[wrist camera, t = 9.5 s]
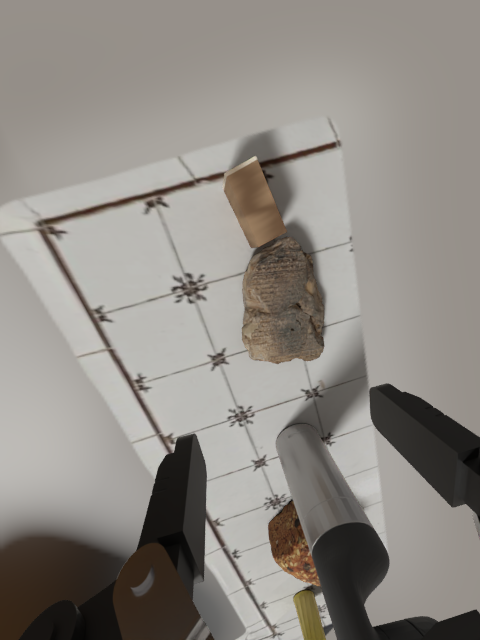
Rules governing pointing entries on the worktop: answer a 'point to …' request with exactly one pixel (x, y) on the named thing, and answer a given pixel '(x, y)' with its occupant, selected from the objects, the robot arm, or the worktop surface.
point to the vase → (309, 616)
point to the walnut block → (253, 203)
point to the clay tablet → (282, 305)
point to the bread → (291, 546)
